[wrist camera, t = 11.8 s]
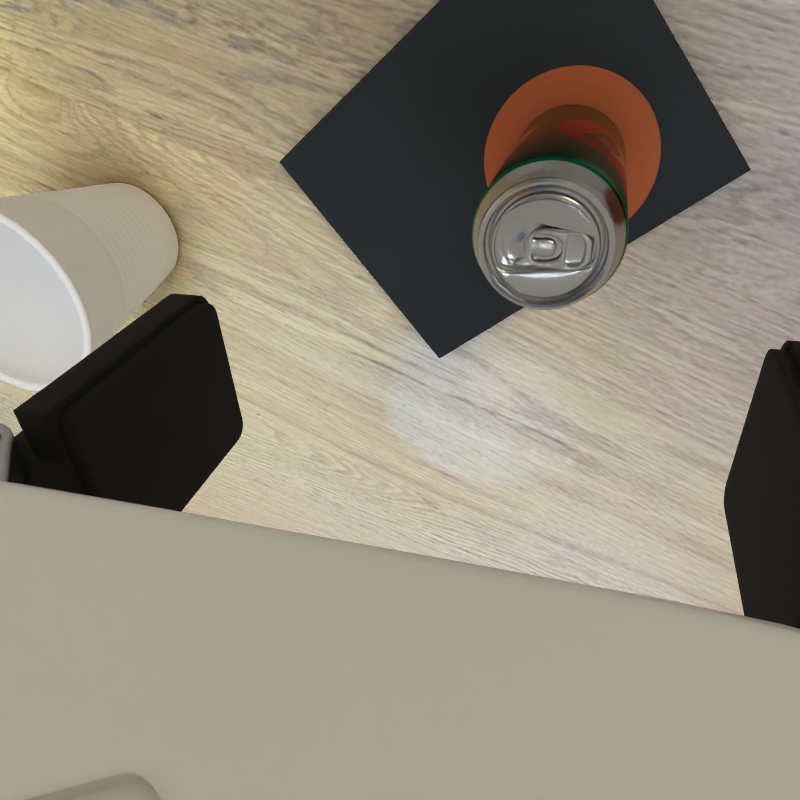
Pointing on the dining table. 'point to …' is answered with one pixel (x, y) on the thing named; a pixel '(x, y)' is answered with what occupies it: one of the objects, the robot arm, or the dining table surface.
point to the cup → (75, 274)
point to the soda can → (555, 211)
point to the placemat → (500, 140)
